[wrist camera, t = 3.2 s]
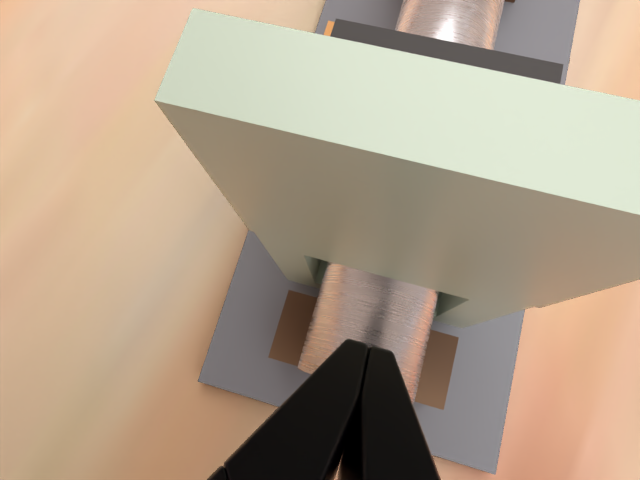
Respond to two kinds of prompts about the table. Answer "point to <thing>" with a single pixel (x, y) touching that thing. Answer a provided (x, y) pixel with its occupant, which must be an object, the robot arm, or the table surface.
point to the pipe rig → (385, 293)
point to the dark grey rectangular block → (448, 51)
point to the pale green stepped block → (411, 165)
